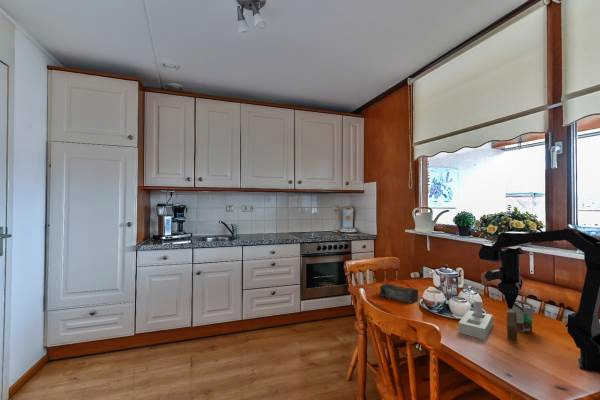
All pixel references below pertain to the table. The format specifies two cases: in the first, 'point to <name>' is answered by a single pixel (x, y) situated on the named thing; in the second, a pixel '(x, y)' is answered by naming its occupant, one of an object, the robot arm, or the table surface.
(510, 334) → the walnut peg
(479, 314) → the grey peg
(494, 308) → the table surface
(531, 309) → the food container
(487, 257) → the robot arm
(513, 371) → the table surface
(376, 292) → the table surface
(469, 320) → the hole block
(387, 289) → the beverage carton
